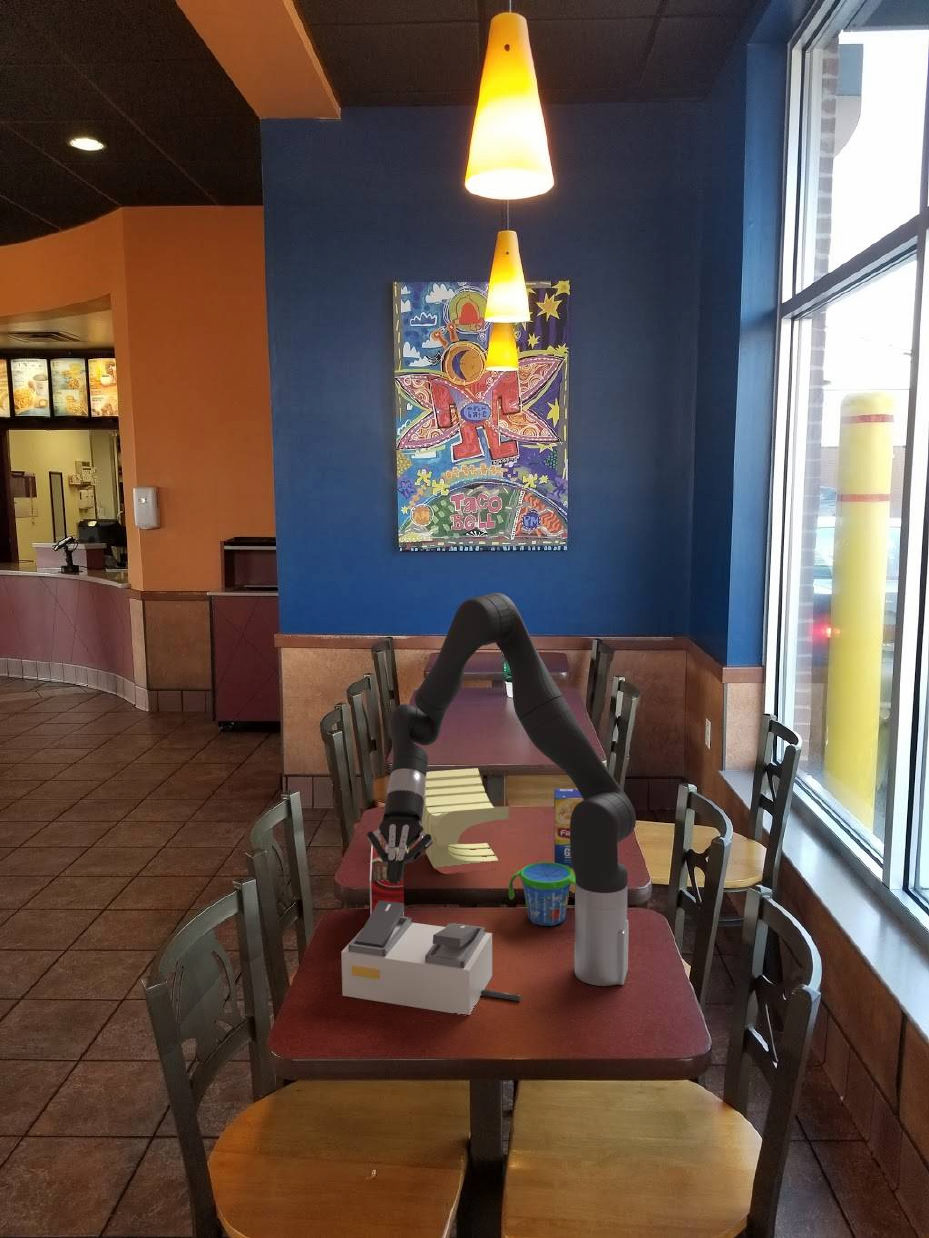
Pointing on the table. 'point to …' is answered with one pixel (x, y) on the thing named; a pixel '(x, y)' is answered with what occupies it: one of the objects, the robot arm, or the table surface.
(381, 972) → the switch box
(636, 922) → the table surface
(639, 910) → the table surface
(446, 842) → the slatted curved stool
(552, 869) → the snack cup
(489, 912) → the table surface
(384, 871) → the ice cream box
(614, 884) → the robot arm
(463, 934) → the rocker plain
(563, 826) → the beverage box
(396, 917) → the rocker dark gray
